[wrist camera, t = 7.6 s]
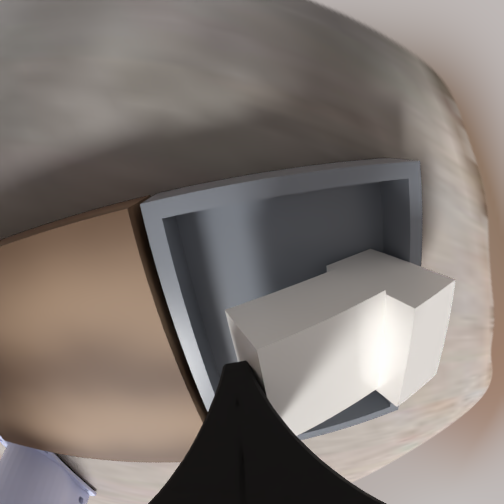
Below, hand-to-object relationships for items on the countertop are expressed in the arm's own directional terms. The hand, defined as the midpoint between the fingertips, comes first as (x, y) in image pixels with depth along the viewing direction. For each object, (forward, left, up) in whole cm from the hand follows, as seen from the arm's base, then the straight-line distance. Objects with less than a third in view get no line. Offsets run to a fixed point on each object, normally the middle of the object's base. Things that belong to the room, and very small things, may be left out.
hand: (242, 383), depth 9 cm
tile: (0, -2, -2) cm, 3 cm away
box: (0, -3, -4) cm, 5 cm away
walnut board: (0, +11, -4) cm, 12 cm away
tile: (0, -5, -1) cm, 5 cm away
